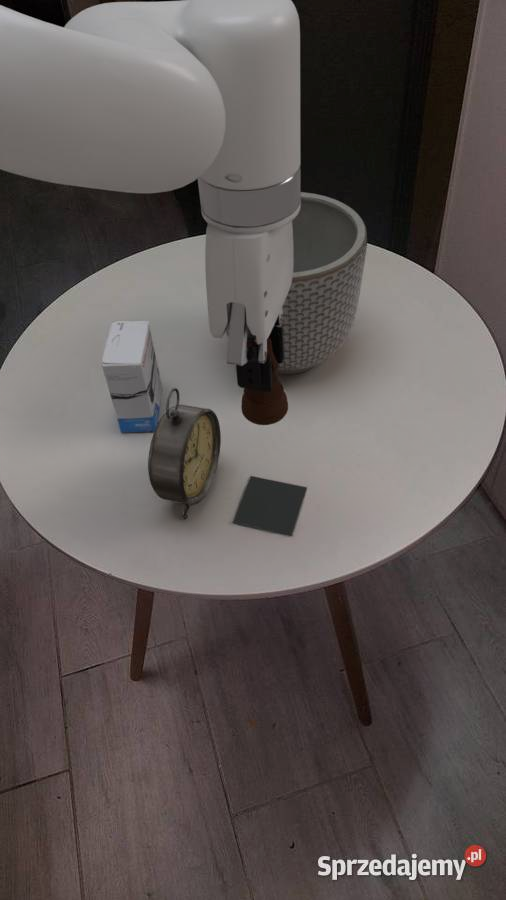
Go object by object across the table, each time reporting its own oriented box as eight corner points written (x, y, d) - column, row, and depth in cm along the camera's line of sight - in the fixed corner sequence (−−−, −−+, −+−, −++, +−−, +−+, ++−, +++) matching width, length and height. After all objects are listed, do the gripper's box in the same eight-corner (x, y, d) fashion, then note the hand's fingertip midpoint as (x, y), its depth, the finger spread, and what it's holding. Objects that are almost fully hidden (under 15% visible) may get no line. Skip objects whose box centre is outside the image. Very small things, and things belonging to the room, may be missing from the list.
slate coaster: (232, 523, 78) (232, 521, 78) (250, 477, 83) (250, 475, 82) (291, 536, 77) (291, 534, 77) (307, 488, 81) (307, 487, 81)
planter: (382, 375, 93) (397, 253, 79) (247, 416, 90) (236, 296, 75) (324, 295, 106) (327, 177, 91) (202, 328, 102) (186, 211, 88)
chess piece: (260, 433, 65) (255, 353, 58) (229, 404, 68) (220, 324, 61) (297, 410, 67) (296, 330, 60) (265, 383, 70) (261, 303, 62)
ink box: (157, 432, 88) (141, 364, 80) (119, 433, 89) (99, 365, 80) (163, 387, 94) (149, 318, 85) (128, 388, 94) (110, 319, 85)
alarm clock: (194, 530, 78) (173, 434, 66) (151, 519, 79) (123, 423, 67) (227, 460, 85) (214, 361, 72) (187, 451, 86) (167, 352, 74)
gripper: (235, 135, 56) (248, 315, 70) (161, 244, 46) (194, 428, 60) (324, 143, 55) (320, 325, 69) (267, 257, 45) (276, 444, 58)
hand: (261, 372), depth 64 cm, fingers closed on chess piece, 3 cm apart
